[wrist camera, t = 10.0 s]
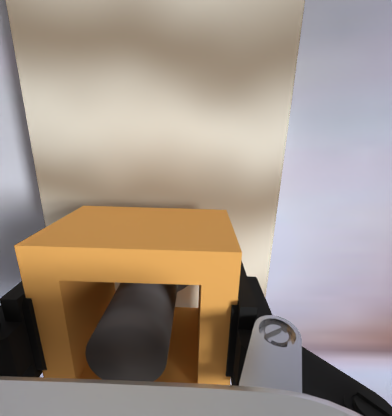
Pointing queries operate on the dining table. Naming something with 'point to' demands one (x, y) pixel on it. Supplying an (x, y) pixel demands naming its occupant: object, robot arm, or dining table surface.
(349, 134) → the dining table surface
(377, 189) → the dining table surface
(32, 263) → the orange square frame
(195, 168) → the peg board
